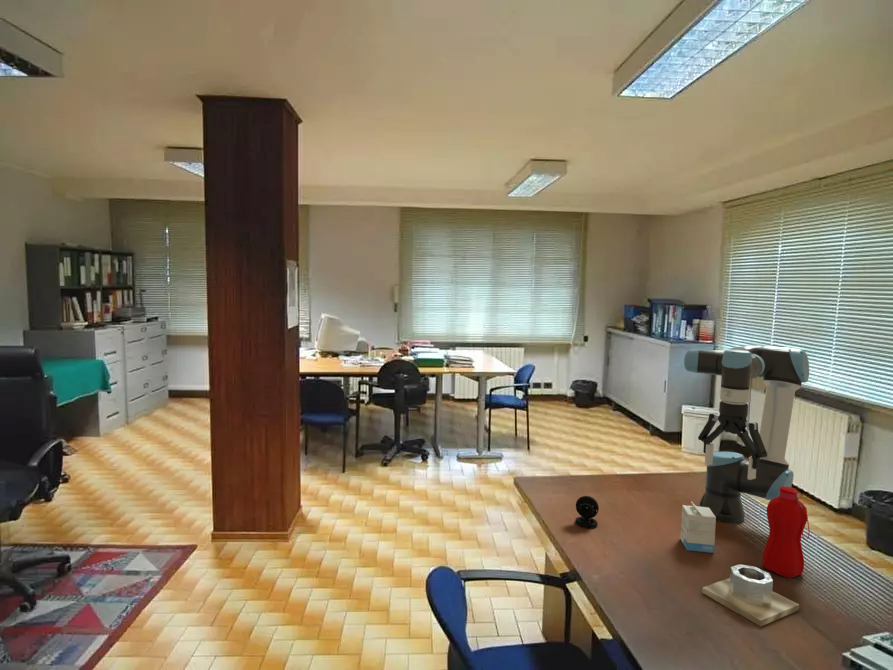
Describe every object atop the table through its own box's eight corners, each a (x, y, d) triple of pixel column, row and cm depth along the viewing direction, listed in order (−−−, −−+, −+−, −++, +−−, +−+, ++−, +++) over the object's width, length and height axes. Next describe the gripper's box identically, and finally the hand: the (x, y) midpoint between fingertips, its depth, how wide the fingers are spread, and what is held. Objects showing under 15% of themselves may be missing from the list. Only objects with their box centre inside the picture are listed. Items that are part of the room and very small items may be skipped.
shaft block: (739, 579, 149) (741, 552, 149) (798, 610, 135) (801, 580, 134) (702, 592, 142) (704, 564, 141) (760, 626, 128) (763, 594, 127)
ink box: (714, 553, 164) (717, 512, 163) (685, 550, 166) (688, 509, 165) (706, 541, 173) (709, 501, 172) (679, 538, 174) (682, 499, 173)
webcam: (573, 526, 181) (574, 498, 180) (576, 518, 188) (577, 490, 187) (596, 530, 178) (598, 501, 177) (598, 522, 185) (600, 494, 184)
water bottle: (795, 584, 147) (803, 498, 146) (757, 566, 157) (763, 484, 155) (814, 577, 152) (821, 493, 150) (775, 560, 161) (782, 480, 160)
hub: (743, 583, 144) (745, 562, 144) (777, 600, 136) (779, 578, 136) (723, 590, 140) (724, 569, 140) (756, 609, 132) (757, 586, 132)
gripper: (688, 395, 165) (684, 460, 167) (769, 412, 143) (763, 487, 145) (704, 393, 169) (700, 457, 170) (784, 409, 147) (779, 483, 149)
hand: (729, 471), depth 158 cm, fingers open, 13 cm apart
